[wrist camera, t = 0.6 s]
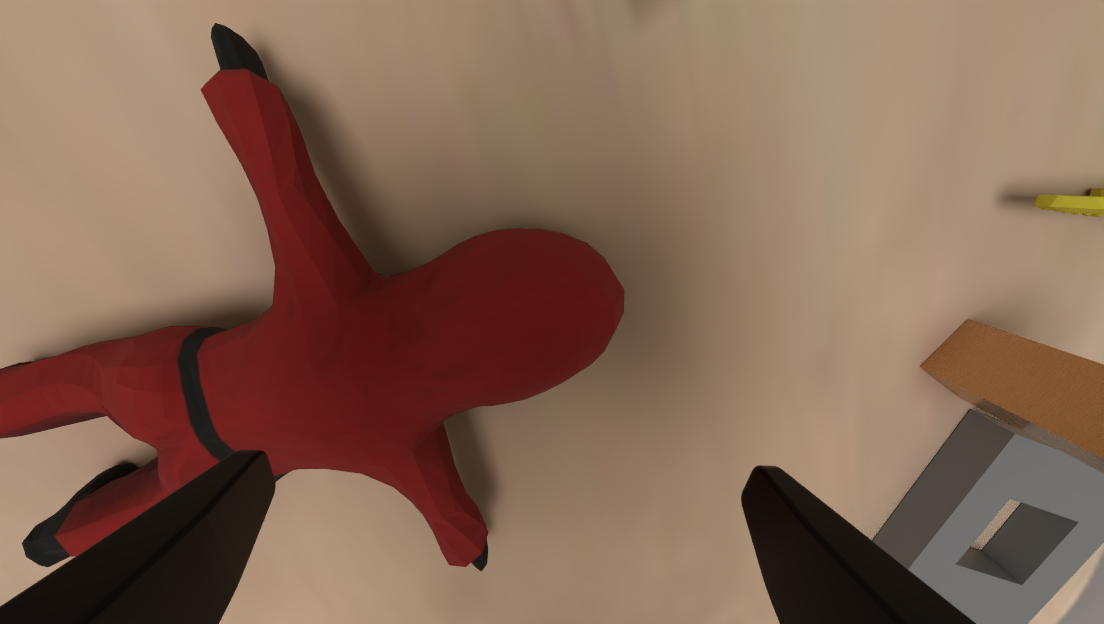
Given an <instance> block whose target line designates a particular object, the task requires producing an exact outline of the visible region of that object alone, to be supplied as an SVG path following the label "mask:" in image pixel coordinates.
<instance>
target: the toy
mask: <svg viewBox="0 0 1104 624" xmlns="http://www.w3.org/2000/svg"><path fill="white" fill-rule="evenodd" d="M211 39H212V42H213V46H214V49H215V53H216V56H217V59H218V63H219V66H220V69H221V70H219V71H218V72H217V73H216V74H215V75H214V76H213V77H212V78H211V79H210V80H209V81H208V82H207V83H206V84H205V85H204V86H203V87H202V88H201V91H202V93H203V95H204V97H205V99H206V101H207V103H208V105H209V107H210V109H211V111H212V113H213V115H214V117H215V119H216V121H217V123H218V125H219V127H220V128H221V130H222V132H223V134H224V135H225V137H226V139H227V140H228V142H229V144H230V146H231V147H232V149H233V151H234V152H235V154H236V156H237V158H238V159H239V161H240V163H241V165H242V167H243V169H244V171H245V173H246V175H247V177H248V179H249V181H250V184H251V186H252V188H253V190H254V192H255V194H256V196H257V199H258V202H259V205H260V208H261V211H262V214H263V217H264V221H265V224H266V227H267V230H268V235H269V240H270V244H271V249H272V254H273V258H274V263H275V281H274V296H273V305H272V306H271V307H270V308H269V309H267V310H266V311H265V312H264V313H263V314H262V315H261V316H259V317H258V318H257V319H256V320H255V321H253V322H249V323H246V324H243V325H240V326H237V327H234V328H231V329H222V328H214V327H196V326H171V327H166V328H162V329H159V330H156V331H153V332H150V333H146V334H143V335H139V336H135V337H129V338H123V339H116V340H110V341H103V342H99V343H95V344H91V345H87V346H83V347H80V348H77V349H74V350H71V351H68V352H66V353H63V354H60V355H57V356H53V357H50V358H46V359H43V360H39V361H36V362H32V361H30V362H24V363H17V364H14V365H11V366H8V367H5V368H2V369H0V438H8V437H17V436H24V435H28V434H32V433H36V432H41V431H45V430H49V429H53V428H57V427H61V426H65V425H70V424H74V423H78V422H83V421H87V420H91V419H95V418H99V417H104V416H108V417H109V418H110V419H111V420H112V421H113V422H114V423H116V424H117V425H118V426H119V427H121V428H122V429H123V430H124V431H125V432H127V433H128V434H129V435H130V436H132V437H133V438H135V439H138V440H140V441H143V442H145V443H148V444H149V445H151V446H153V447H154V448H156V449H157V455H158V457H157V458H155V459H154V460H152V461H151V462H149V463H148V464H146V465H144V466H143V467H141V468H139V469H138V468H137V466H136V465H133V464H129V463H128V464H122V465H117V466H114V467H112V468H110V469H108V470H106V471H104V472H102V473H100V474H99V475H97V476H96V477H95V478H94V479H92V480H91V481H90V482H89V483H88V484H86V485H85V486H84V487H83V488H82V489H80V490H79V491H78V492H77V493H76V494H75V495H74V496H73V497H72V498H71V499H70V500H69V501H68V502H67V504H66V505H65V506H63V507H62V508H61V509H60V510H59V511H58V512H57V513H55V514H54V515H53V516H51V517H50V518H48V519H46V520H45V521H43V522H41V523H40V524H38V525H36V526H35V527H34V528H33V530H32V531H31V532H30V533H29V535H28V536H27V537H26V538H25V540H24V541H23V542H22V545H23V548H24V551H25V555H26V557H27V558H29V559H30V560H32V561H34V562H35V563H37V564H39V565H41V566H45V567H50V566H52V565H54V564H56V563H58V562H60V561H62V560H64V559H66V558H68V557H70V556H77V555H79V554H80V553H82V552H83V551H85V550H86V549H88V548H89V547H91V546H93V545H94V544H96V543H97V542H99V541H100V540H102V539H103V538H105V537H106V536H108V535H109V534H111V533H112V532H114V531H115V530H117V529H118V528H120V527H121V526H123V525H124V524H126V523H127V522H129V521H130V520H132V519H133V518H135V517H136V516H138V515H139V514H141V513H142V512H144V511H145V510H147V509H149V508H150V507H152V506H153V505H155V504H156V503H158V502H159V501H161V500H162V499H164V498H165V497H167V496H168V495H170V494H171V493H173V492H174V491H176V490H177V489H179V488H180V487H182V486H183V485H185V484H186V483H188V482H189V481H191V480H192V479H194V478H195V477H197V476H198V475H200V474H201V473H203V472H205V471H206V470H208V469H209V468H211V467H212V466H214V465H215V464H217V463H218V462H220V461H221V460H223V459H224V458H226V457H227V456H229V455H230V454H232V453H234V452H235V451H238V450H262V451H264V452H265V453H266V454H267V456H268V459H269V462H270V465H271V469H272V472H273V475H274V479H275V482H276V481H278V480H279V479H280V478H281V477H283V476H284V475H286V474H287V473H288V472H291V471H293V470H297V469H331V470H339V471H346V472H354V473H361V474H364V475H366V476H369V477H371V478H373V479H376V480H378V481H380V482H383V483H385V484H387V485H390V486H392V487H394V488H395V489H396V490H398V491H399V492H400V493H401V494H402V495H404V496H405V497H406V498H407V499H409V500H410V501H411V502H412V503H413V504H414V505H415V507H416V508H417V509H418V510H419V511H420V512H421V513H422V514H423V516H424V517H425V519H426V521H427V522H428V524H429V526H430V527H431V529H432V531H433V532H434V535H435V537H436V539H437V542H438V544H439V546H440V549H441V551H442V553H443V555H444V557H445V558H446V560H447V562H448V564H449V565H453V566H461V567H466V566H467V565H469V564H470V563H472V564H473V565H474V566H475V567H476V568H477V569H479V570H480V571H482V570H483V569H484V568H485V566H486V564H487V558H488V545H487V535H488V530H487V528H486V525H485V522H484V520H483V517H482V515H481V513H480V511H479V509H478V507H477V506H476V504H475V503H474V502H473V500H472V499H471V498H470V497H469V495H468V494H467V493H466V491H465V488H464V486H463V483H462V481H461V479H460V476H459V474H458V471H457V469H456V466H455V464H454V460H453V456H452V452H451V448H450V445H449V441H448V437H447V434H446V431H445V428H444V424H443V422H444V420H445V419H447V418H449V417H451V416H453V415H455V414H457V413H459V412H462V411H465V410H468V409H471V408H475V407H478V406H493V405H499V404H505V403H510V402H515V401H520V400H524V399H527V398H530V397H532V396H535V395H537V394H540V393H542V392H545V391H547V390H549V389H551V388H553V387H555V386H557V385H559V384H561V383H562V382H564V381H566V380H567V379H569V378H571V377H572V376H574V375H575V374H577V373H578V372H580V371H581V370H583V369H584V368H586V367H588V366H589V365H591V364H592V363H593V362H594V361H595V360H596V359H597V358H598V357H599V356H600V355H601V354H602V353H603V352H604V351H605V349H606V347H607V345H608V343H609V341H610V339H611V338H612V336H613V334H614V332H615V330H616V328H617V326H618V324H619V322H620V320H621V317H622V315H623V313H624V289H623V287H622V286H621V284H620V282H619V281H618V279H617V278H616V276H615V274H614V273H613V271H612V270H611V268H610V266H609V265H608V263H607V261H606V259H605V258H604V257H603V256H602V255H600V254H599V253H598V252H597V251H596V250H594V249H593V248H592V247H591V246H590V245H588V244H587V243H585V242H583V241H580V240H578V239H575V238H573V237H570V236H568V235H565V234H562V233H557V232H551V231H546V230H540V229H507V230H495V231H492V232H488V233H485V234H481V235H478V236H474V237H472V238H470V239H468V240H466V241H464V242H462V243H459V244H457V245H456V246H454V247H453V248H451V249H450V250H448V251H447V252H445V253H444V254H442V255H441V256H439V257H437V258H436V259H434V260H433V261H431V262H429V263H427V264H425V265H422V266H420V267H418V268H415V269H413V270H411V271H408V272H406V273H402V274H398V275H394V276H389V277H385V276H383V275H381V274H379V273H376V272H374V271H373V269H372V268H371V266H370V265H369V263H368V262H367V260H366V259H365V258H364V256H363V255H362V253H361V252H360V250H359V249H358V247H357V246H356V244H355V243H354V241H353V240H352V238H351V237H350V235H349V234H348V232H347V231H346V230H345V228H344V227H343V225H342V224H341V222H340V221H339V219H338V217H337V215H336V213H335V211H334V210H333V208H332V206H331V204H330V202H329V200H328V198H327V196H326V194H325V192H324V190H323V188H322V187H321V185H320V183H319V181H318V179H317V177H316V175H315V172H314V169H313V166H312V164H311V161H310V158H309V155H308V152H307V149H306V146H305V143H304V140H303V137H302V134H301V131H300V129H299V127H298V125H297V122H296V120H295V118H294V116H293V114H292V111H291V109H290V107H289V105H288V103H287V101H286V100H285V98H284V96H283V95H282V93H281V91H280V90H279V88H278V87H277V86H275V85H274V84H272V83H271V82H269V80H268V78H267V75H266V72H265V69H264V66H263V64H262V61H261V60H260V58H259V56H258V54H257V53H256V51H255V50H254V49H253V48H252V47H251V46H250V45H249V44H248V43H247V42H246V41H245V40H244V38H243V37H241V36H240V35H238V34H237V33H235V32H234V31H232V30H231V29H229V28H228V27H226V26H223V25H220V24H217V23H215V24H214V26H213V27H212V31H211Z"/></svg>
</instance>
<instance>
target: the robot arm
mask: <svg viewBox="0 0 1104 624" xmlns="http://www.w3.org/2000/svg"><path fill="white" fill-rule="evenodd" d="M274 492H275V479H274V475H273V472H272V469H271V465H270V462H269V459H268V456H267V454H266V453H265V452H264V451H262V450H238V451H235V452H234V453H232V454H230V455H229V456H227V457H226V458H224V459H223V460H221V461H220V462H218V463H217V464H215V465H214V466H212V467H211V468H209V469H208V470H206V471H205V472H203V473H201V474H200V475H198V476H197V477H195V478H194V479H192V480H191V481H189V482H188V483H186V484H185V485H183V486H182V487H180V488H179V489H177V490H176V491H174V492H173V493H171V494H170V495H168V496H167V497H165V498H164V499H162V500H161V501H159V502H158V503H156V504H155V505H153V506H152V507H150V508H149V509H147V510H145V511H144V512H142V513H141V514H139V515H138V516H136V517H135V518H133V519H132V520H130V521H129V522H127V523H126V524H124V525H123V526H121V527H120V528H118V529H117V530H115V531H114V532H112V533H111V534H109V535H108V536H106V537H105V538H103V539H102V540H100V541H99V542H97V543H96V544H94V545H93V546H91V547H89V548H88V549H86V550H85V551H83V552H82V553H80V554H79V555H77V556H76V557H74V558H73V559H71V560H70V561H68V562H67V563H65V564H64V565H62V566H61V567H59V568H58V569H56V570H55V571H53V572H52V573H50V574H49V575H47V576H46V577H44V578H43V579H41V580H40V581H38V582H37V583H35V584H34V585H32V586H30V587H29V588H27V589H26V590H24V591H23V592H21V593H20V594H18V595H17V596H15V597H14V598H12V599H11V600H9V601H8V602H6V603H5V604H3V605H2V606H0V624H219V622H220V620H221V618H222V616H223V614H224V612H225V611H226V609H227V607H228V605H229V603H230V601H231V599H232V596H233V594H234V592H235V590H236V588H237V586H238V584H239V581H240V579H241V577H242V574H243V572H244V569H245V567H246V564H247V562H248V559H249V557H250V554H251V552H252V549H253V547H254V544H255V542H256V539H257V536H258V534H259V531H260V529H261V526H262V524H263V521H264V519H265V516H266V514H267V511H268V509H269V506H270V503H271V501H272V498H273V496H274ZM741 502H742V507H743V511H744V514H745V518H746V521H747V525H748V528H749V532H750V535H751V538H752V542H753V545H754V549H755V552H756V556H757V559H758V563H759V566H760V570H761V573H762V576H763V579H764V582H765V586H766V589H767V591H768V594H769V597H770V599H771V602H772V605H773V607H774V610H775V612H776V615H777V617H778V620H779V622H780V624H976V623H975V622H974V621H972V620H971V619H970V618H969V617H967V616H966V615H965V614H964V613H962V612H961V611H960V610H959V609H957V608H956V607H955V606H954V605H952V604H951V603H950V602H948V601H947V600H946V599H945V598H943V597H942V596H941V595H940V594H938V593H937V592H936V591H935V590H933V589H932V588H931V587H930V586H928V585H927V584H926V583H925V582H923V581H922V580H921V579H919V578H918V577H917V576H916V575H914V574H913V573H912V572H911V571H909V570H908V569H907V568H906V567H904V566H903V565H902V564H901V563H899V562H898V561H897V560H896V559H894V558H893V557H892V556H890V555H889V554H888V553H887V552H885V551H884V550H883V549H882V548H880V547H879V546H878V545H877V544H875V543H874V542H873V541H872V540H870V539H869V538H868V537H867V536H865V535H864V534H863V533H862V532H860V531H859V530H858V529H856V528H855V527H854V526H853V525H851V524H850V523H849V522H848V521H846V520H845V519H844V518H843V517H841V516H840V515H839V514H838V513H836V512H835V511H834V510H833V509H831V508H830V507H829V506H827V505H826V504H825V503H824V502H822V501H821V500H820V499H819V498H817V497H816V496H815V495H814V494H812V493H811V492H810V491H809V490H807V489H806V488H805V487H804V486H802V485H801V484H800V483H798V482H797V481H796V480H795V479H793V478H792V477H791V476H790V475H788V474H787V473H786V472H785V471H783V470H782V469H781V468H779V467H776V466H761V465H759V466H756V467H755V468H754V469H753V470H752V472H751V475H750V477H749V479H748V481H747V483H746V485H745V487H744V489H743V492H742V496H741Z"/></svg>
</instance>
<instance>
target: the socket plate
mask: <svg viewBox="0 0 1104 624" xmlns="http://www.w3.org/2000/svg"><path fill="white" fill-rule="evenodd" d="M1009 499H1013V500H1016V501H1019V502H1022V504H1021V505H1020V506H1019V507H1018V508H1017V510H1016V511H1015V512H1014V513H1013V514H1012V515H1011V517H1010V518H1009V519H1008V520H1007V521H1006V523H1005V524H1004V525H1003V526H1002V527H1001V529H1000V530H999V531H998V532H997V533H996V534H995V536H994V537H993V538H992V539H991V540H990V542H989V543H988V544H987V545H986V546H985V548H984V549H983V550H982V551H980V550H977V549H974V548H971V547H970V546H971V545H972V544H973V542H974V541H975V540H976V539H977V538H978V536H979V535H980V534H981V533H982V532H983V530H984V529H985V528H986V527H987V526H988V524H989V523H990V522H991V521H992V520H993V518H994V517H995V516H996V515H997V513H998V512H999V511H1000V510H1001V509H1002V507H1003V506H1004V505H1005V504H1006V503H1007V501H1008V500H1009ZM873 542H874V543H875V544H877V545H878V546H879V547H880V548H882V549H883V550H884V551H885V552H887V553H888V554H889V555H890V556H892V557H893V558H894V559H896V560H897V561H898V562H899V563H901V564H902V565H903V566H904V567H906V568H907V569H908V570H909V571H911V572H912V573H913V574H914V575H916V576H917V577H918V578H919V579H921V580H922V581H923V582H925V583H926V584H927V585H928V586H930V587H931V588H932V589H933V590H935V591H936V592H937V593H938V594H940V595H941V596H942V597H943V598H945V599H946V600H947V601H948V602H950V603H951V604H952V605H954V606H955V607H956V608H957V609H959V610H960V611H961V612H962V613H964V614H965V615H966V616H967V617H969V618H970V619H971V620H972V621H974V622H975V623H978V624H1028V623H1029V622H1030V621H1031V619H1032V618H1033V617H1034V616H1035V615H1036V614H1037V613H1038V612H1039V611H1040V610H1041V609H1042V608H1043V607H1044V606H1045V605H1046V603H1047V602H1048V601H1049V600H1050V599H1051V598H1052V597H1053V596H1054V595H1055V594H1056V593H1057V592H1058V591H1059V590H1060V589H1061V588H1062V586H1063V585H1064V584H1065V583H1066V582H1067V581H1068V580H1069V579H1070V578H1071V577H1072V576H1073V575H1074V574H1075V573H1076V572H1077V570H1078V569H1079V568H1080V567H1081V566H1082V565H1083V564H1084V563H1085V562H1086V561H1087V560H1088V559H1089V558H1090V557H1091V556H1092V554H1093V553H1094V552H1095V551H1096V550H1097V549H1098V548H1099V547H1100V546H1101V545H1102V544H1103V543H1104V473H1102V472H1100V471H1098V470H1096V469H1094V468H1092V467H1090V466H1089V465H1087V464H1085V463H1083V462H1081V461H1079V460H1077V459H1075V458H1073V457H1071V456H1070V455H1068V454H1066V453H1064V452H1062V451H1060V450H1058V449H1056V448H1054V447H1052V446H1051V445H1049V444H1047V443H1045V442H1043V441H1041V440H1039V439H1037V438H1035V437H1033V436H1032V435H1030V434H1028V433H1026V432H1024V431H1022V430H1020V429H1018V428H1016V427H1014V426H1013V425H1010V424H1008V423H1005V422H1002V421H1000V420H997V419H994V418H991V417H989V416H986V415H983V414H981V413H978V412H975V411H973V410H969V412H968V413H967V414H966V416H965V417H964V418H963V420H962V421H961V422H960V424H959V425H958V426H957V428H956V429H955V430H954V432H953V433H952V434H951V436H950V437H949V439H948V440H947V441H946V443H945V444H944V445H943V447H942V448H941V449H940V451H939V452H938V453H937V455H936V456H935V457H934V459H933V460H932V461H931V463H930V464H929V465H928V467H927V468H926V469H925V471H924V472H923V474H922V475H921V476H920V478H919V479H918V480H917V482H916V483H915V484H914V486H913V487H912V488H911V490H910V491H909V492H908V494H907V495H906V496H905V498H904V499H903V500H902V502H901V503H900V504H899V506H898V507H897V508H896V510H895V511H894V513H893V514H892V515H891V517H890V518H889V519H888V521H887V522H886V523H885V525H884V526H883V527H882V529H881V530H880V531H879V533H878V534H877V535H876V537H875V538H874V539H873Z"/></svg>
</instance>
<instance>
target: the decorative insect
mask: <svg viewBox="0 0 1104 624" xmlns="http://www.w3.org/2000/svg"><path fill="white" fill-rule="evenodd" d="M1034 206H1035V207H1038V208H1040V209H1043V210H1053V211H1061V212H1062V213H1069V212H1071V213H1072V214H1073V215H1078V214H1081V213H1082V215H1086V216H1091V215H1092V216H1094V217H1098V216H1104V189H1091V192H1090V196H1068V195H1037V198H1036V201H1035V204H1034Z"/></svg>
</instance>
